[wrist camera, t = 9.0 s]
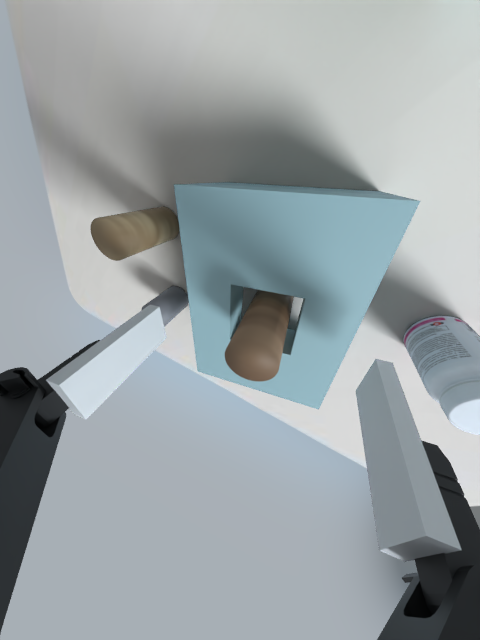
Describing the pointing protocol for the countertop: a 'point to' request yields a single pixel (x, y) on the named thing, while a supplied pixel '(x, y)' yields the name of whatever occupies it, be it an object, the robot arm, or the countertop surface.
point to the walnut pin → (260, 337)
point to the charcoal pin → (170, 303)
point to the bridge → (286, 270)
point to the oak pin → (134, 231)
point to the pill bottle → (449, 367)
